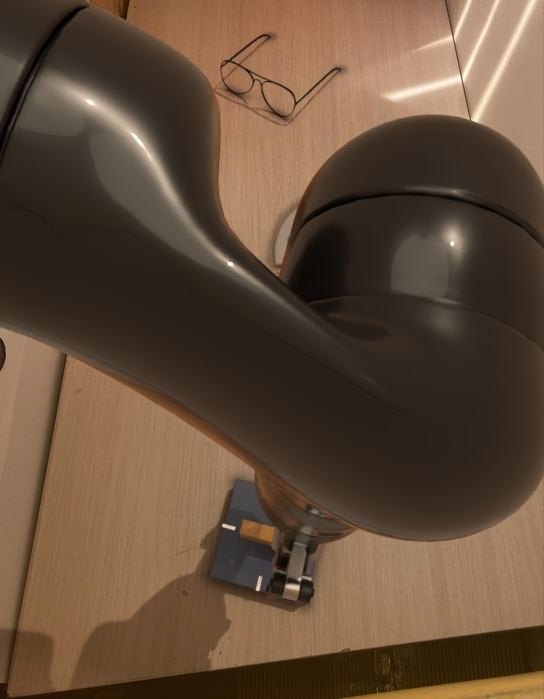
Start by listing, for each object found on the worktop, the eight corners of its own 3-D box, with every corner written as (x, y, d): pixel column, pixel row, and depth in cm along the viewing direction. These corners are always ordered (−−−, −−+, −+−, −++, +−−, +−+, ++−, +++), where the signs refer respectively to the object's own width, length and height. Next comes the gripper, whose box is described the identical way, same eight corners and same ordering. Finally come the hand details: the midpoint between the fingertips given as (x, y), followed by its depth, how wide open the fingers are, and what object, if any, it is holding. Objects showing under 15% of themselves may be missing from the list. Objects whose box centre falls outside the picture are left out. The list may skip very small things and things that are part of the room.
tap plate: (210, 578, 56) (207, 577, 53) (236, 482, 60) (235, 477, 58) (304, 604, 55) (307, 605, 53) (325, 506, 60) (328, 501, 57)
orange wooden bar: (240, 537, 55) (239, 533, 51) (243, 523, 56) (243, 518, 52) (296, 553, 55) (300, 549, 51) (299, 538, 55) (303, 534, 51)
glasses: (218, 86, 87) (218, 55, 82) (268, 46, 94) (271, 16, 89) (293, 123, 84) (297, 94, 79) (339, 79, 91) (345, 50, 86)
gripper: (285, 333, 32) (274, 415, 47) (222, 585, 26) (232, 589, 41) (409, 361, 32) (358, 435, 47) (373, 624, 26) (328, 614, 41)
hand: (299, 507), depth 44 cm, fingers open, 8 cm apart
